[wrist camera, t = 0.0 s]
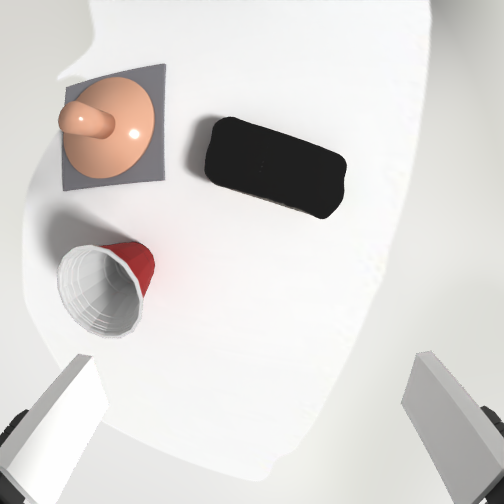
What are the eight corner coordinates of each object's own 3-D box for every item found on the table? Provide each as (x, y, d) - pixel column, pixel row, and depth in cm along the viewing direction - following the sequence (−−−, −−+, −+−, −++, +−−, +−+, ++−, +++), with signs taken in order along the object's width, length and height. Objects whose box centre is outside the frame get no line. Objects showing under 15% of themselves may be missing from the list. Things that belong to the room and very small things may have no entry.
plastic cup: (105, 295, 40) (63, 333, 28) (101, 223, 37) (50, 241, 25) (173, 304, 40) (145, 350, 28) (173, 227, 37) (139, 248, 26)
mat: (68, 88, 32) (66, 87, 32) (166, 64, 32) (164, 63, 31) (65, 191, 36) (63, 191, 35) (164, 180, 36) (163, 180, 35)
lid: (70, 91, 32) (33, 77, 23) (157, 71, 32) (131, 44, 23) (68, 183, 35) (27, 187, 26) (155, 173, 35) (125, 172, 26)
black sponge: (203, 180, 36) (198, 180, 32) (224, 117, 34) (221, 111, 30) (326, 220, 37) (333, 225, 34) (346, 159, 35) (356, 157, 32)
